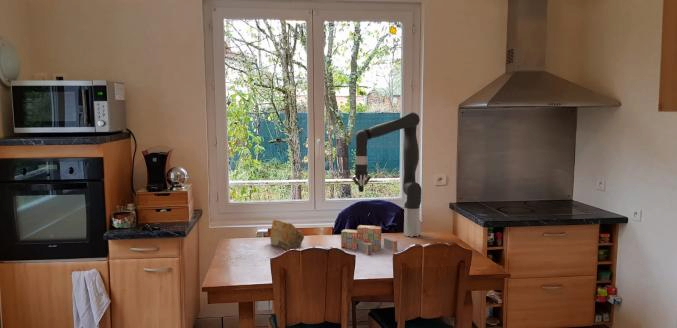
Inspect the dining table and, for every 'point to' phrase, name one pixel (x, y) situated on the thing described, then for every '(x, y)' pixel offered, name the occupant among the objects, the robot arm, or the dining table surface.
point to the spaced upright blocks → (367, 247)
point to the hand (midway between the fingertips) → (361, 191)
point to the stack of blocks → (362, 237)
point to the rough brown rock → (285, 235)
